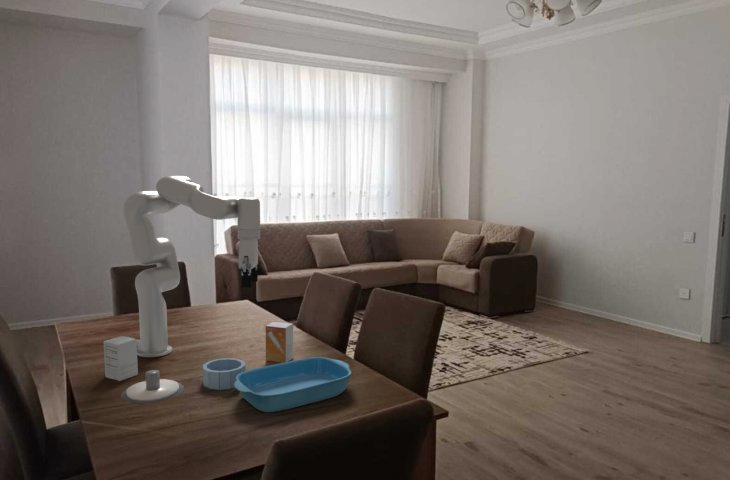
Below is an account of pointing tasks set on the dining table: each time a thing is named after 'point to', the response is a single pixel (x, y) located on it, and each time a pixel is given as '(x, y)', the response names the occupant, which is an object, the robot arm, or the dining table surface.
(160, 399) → the mat
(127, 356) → the supplement box
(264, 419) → the dining table surface
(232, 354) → the dining table surface
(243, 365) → the bowl
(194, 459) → the dining table surface
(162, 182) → the robot arm
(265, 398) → the casserole dish
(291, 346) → the small box
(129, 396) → the lid
